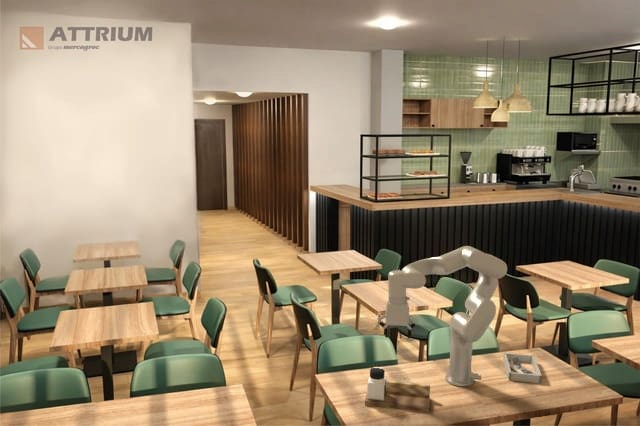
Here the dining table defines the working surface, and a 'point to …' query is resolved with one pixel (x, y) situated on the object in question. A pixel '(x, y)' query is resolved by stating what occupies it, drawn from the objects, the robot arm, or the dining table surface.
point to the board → (404, 397)
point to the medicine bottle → (376, 384)
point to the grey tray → (522, 376)
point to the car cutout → (519, 367)
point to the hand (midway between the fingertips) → (397, 337)
